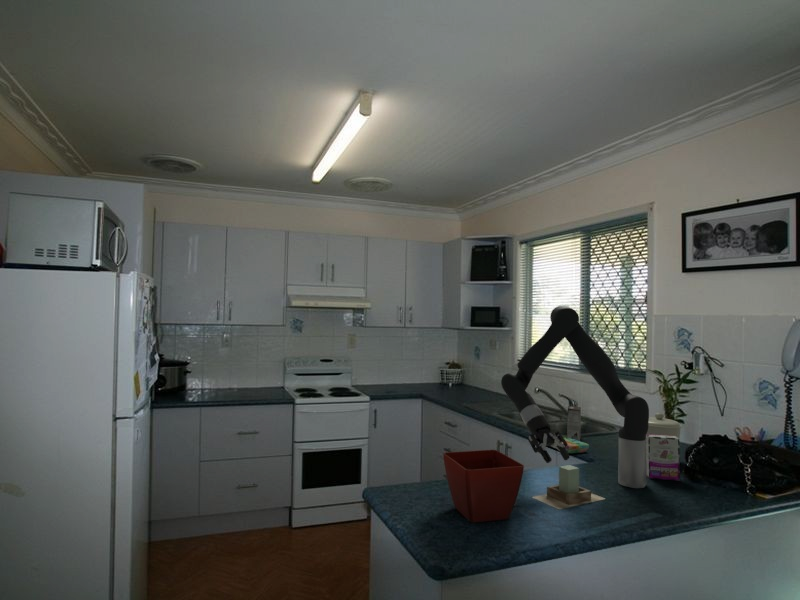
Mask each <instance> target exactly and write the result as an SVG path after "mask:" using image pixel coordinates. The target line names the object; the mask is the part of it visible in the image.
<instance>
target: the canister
mask: <svg viewBox="0 0 800 600" xmlns="http://www.w3.org/2000/svg"><path fill="white" fill-rule="evenodd" d="M681 428H683V425H682V424H681V423H680V422H678V421H676V420H673V419H669V418H665V417H664V413H662V412H656V413H654V417H653V416H649V424H648V432H647V434H649V435H666V436H677V437H678V438H679V439H680V436H681V430H682V429H681Z"/></svg>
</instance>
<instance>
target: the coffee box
mask: <svg viewBox="0 0 800 600" xmlns="http://www.w3.org/2000/svg"><path fill="white" fill-rule="evenodd" d="M581 411H582V408H581V407H580V406H572V405H568V407H567V430H566V431H567V433H566V437H567V438H570V439H575V440H577V441H580V442H581V428H582V424H581V423H582V421H581V419H582V418H581V417H582V416H581V415H582V414H581Z"/></svg>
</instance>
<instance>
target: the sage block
mask: <svg viewBox="0 0 800 600" xmlns="http://www.w3.org/2000/svg"><path fill="white" fill-rule="evenodd" d="M558 485H559V490H560V491H563V492H565V493H568V494H570V493H575V492H579V487H580V468H579V467H577V466H573V465H571V464H569V465H567V464H566V465H562V466H559V467H558Z"/></svg>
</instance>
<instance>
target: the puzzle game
mask: <svg viewBox="0 0 800 600" xmlns="http://www.w3.org/2000/svg"><path fill="white" fill-rule="evenodd" d="M562 436H563V435H562ZM563 438H564V439H565V441H566V442H567V444H568V445H567V446H566V447H565V449H566V451H567V453H568V454H580V453H585V452H586V451H587V450H588V449H589V448H590V444H588V443H586V442H583V441H581V440H580V441H577V440H575V439H570V438H567V436H563ZM554 443H556V441H555V440H554ZM562 444H563V442H562ZM558 446H559V447H560V445H558ZM549 447H551V448H553V447H552V446H549Z"/></svg>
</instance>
